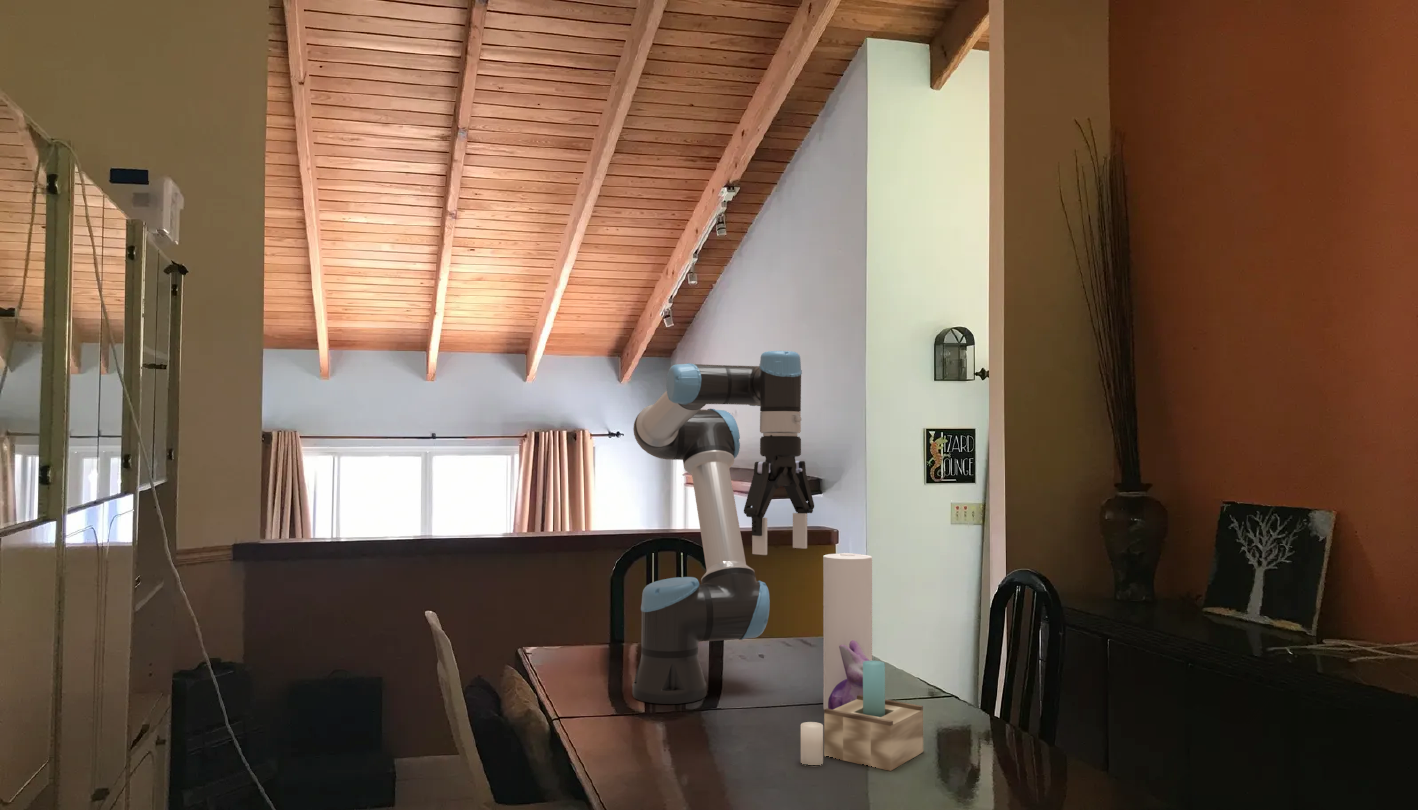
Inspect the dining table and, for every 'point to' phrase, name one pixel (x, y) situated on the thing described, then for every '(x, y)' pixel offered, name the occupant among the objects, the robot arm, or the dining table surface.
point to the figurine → (849, 676)
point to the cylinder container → (845, 612)
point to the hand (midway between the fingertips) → (780, 551)
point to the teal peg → (874, 688)
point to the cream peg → (812, 743)
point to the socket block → (874, 734)
